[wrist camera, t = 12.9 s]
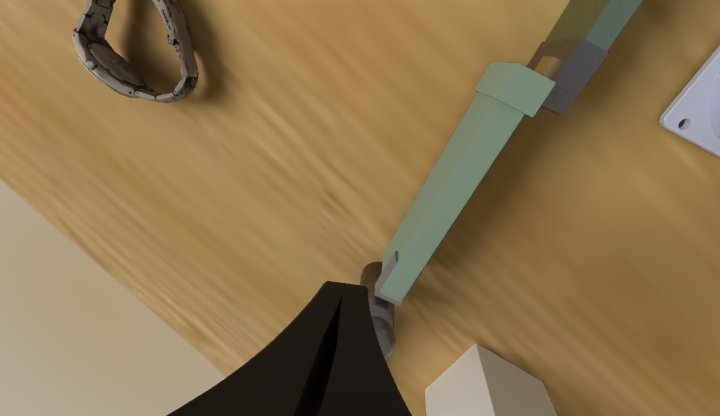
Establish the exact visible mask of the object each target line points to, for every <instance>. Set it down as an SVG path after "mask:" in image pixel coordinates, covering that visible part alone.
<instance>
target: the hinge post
mask: <svg viewBox="0 0 720 416" xmlns="http://www.w3.org/2000/svg"><path fill="white" fill-rule="evenodd" d="M381 273H382V262H373V263H370V264H368V265H367V266H366V267H365V268H364V269H363V271H362V275H361V281H360V285H361V286H366V287H367V289H368V299H369V307H370V312H371V317H372V321H373V325H374V328H375V331H376V335H377V338H378V341H379V344H380V347H381V350H382V353H383V355H384V358H385V360H386V359H388V358H389V356H390V355H391V354H392V352H393V350H394V347H395V333H394V304H393V303H391V302H389V301H387V300H384V299H382V298H380V297H378V296H375V295H374V292H375V283H376V282H377V280H378V278H379V277H380V275H381Z"/></svg>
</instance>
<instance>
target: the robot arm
mask: <svg viewBox="0 0 720 416" xmlns="http://www.w3.org/2000/svg"><path fill="white" fill-rule="evenodd" d="M683 119H684V120H685V123H684V124H683V126H681V127H680V128H679V127H678V124H679V123H680V121H682V120H683ZM659 122H660V125H661V126H662V127H663V128H665V129H666V130H668V131H670V132H672V133H674V134H676V135H678V136H680V137H681V138H683V139H685V140H687V141H689V142H691V143H693V144H695V145H696V146H698V147H700V148H702V149H704V150H706V151H708V152H710V153H711V154H713V155H715V156H717V157H719V158H720V45H719V47H718V48H717V49H716V50H715V51H714V53H713V54H712V55H711V56H710V57H709V59H708V60H707V61H706V62H705V63H704V65H703V66H702V67H701V68H700V69H699V71H698V72H697V73H696V74H695V75H694V77H693V78H692V79H691V80H690V81H689V83H688V84H687V85H686V86H685V87H684V89H683V90H682V91H681V92H680V93H679V95H678V96H677V97H676V98H675V99H674V101H673V102H672V103H671V104H670V105H669V107H668V108H667V109H666V110H665V111H664V113H663V114H662V116H661V117H660V121H659ZM167 416H412V415H411V413H410V411H409V410H408V408H407V406H406V404H405V402H404V400H403V398H402V396H401V394H400V392H399V390H398V388H397V386H396V384H395V382H394V379H393V377H392V375H391V373H390V370H389V368H388V366H387V363H386V361H385V358H384V355H383V353H382V350H381V347H380V344H379V341H378V338H377V335H376V331H375V328H374V325H373V321H372V317H371V312H370V307H369V299H368V289H367V287H366V286H361V285H353V284H346V283H339V282H331V281H327V282H325V283H324V284H323V286H322V287H321V288H320V290H319V291H318V292H317V294H316V295H315V296H314V297H313V299H312V300H311V301H310V302H309V303H308V305H307V306H306V307H305V308H304V309H303V310H302V311H301V312H300V313H299V315H298V316H297V317H296V318H295V319H294V320H293V321H292V322H291V323H290V324H289V325H288V326H287V327H286V328H285V329H284V330H283V331H282V332H281V333H280V334H279V335H278V336H277V337H276V338H275V339H274V340H273V341H272V342H270V343H269V344H268V345H267V346H266V347H265V348H264V349H263V350H261V351H260V352H259V353H258V354H257V355H255V356H254V357H253V358H252V359H250V360H249V361H248V362H247V363H245V364H244V365H243V366H242V367H240V368H239V369H237V370H236V371H235V372H233V373H232V374H231V375H229V376H228V377H227V378H225V379H224V380H222V381H221V382H220V383H218V384H217V385H215V386H214V387H212V388H211V389H209V390H208V391H206V392H205V393H203V394H201V395H200V396H198V397H196V398H195V399H193V400H192V401H190V402H188V403H187V404H185V405H184V406H182V407H180V408H179V409H177V410H175V411H174V412H172V413H170V414H168V415H167Z"/></svg>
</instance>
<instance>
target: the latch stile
mask: <svg viewBox="0 0 720 416" xmlns="http://www.w3.org/2000/svg"><path fill="white" fill-rule="evenodd" d="M642 1H643V0H571V1H570V2H569V4H568V6H567V7H566V9H565V10H564V12H563V14H562V15H561V17H560V18H559V20H558V21H557V23H556V25H555V26H554V28H553V29H552V31H551V33H550V34H549V36H548V37H547V39H546V41H545V42H542V43H541V45H540V46H539V48H538V50H537V51H536V53H535V54H534V56H533V58H532V59H531V61H530V62H529V64H528V66H527V68H529V69H531V70H533V71H535V72H537V73H539V74H540V75H542V76H544V77H546V78H548V79H550V80H552V81H554V82H556V84H555V85H554V87H553V88H552V90H551V91H550V93H549V94H548V96H547V97H546V99H545V100H544V102H543V103H542V105H541V106H540V108H543V109H545V110H548V111H551V112H554V113H557V114H560V115H563V116H564V115H565V114H566V112H567V111H568V109H569V108H570V107H571V105H572V104H573V102H574V101H575V100H576V98H577V97H578V95H579V94H580V93H581V91H582V90H583V88H584V87H585V86H586V84H587V83H588V81H589V80H590V79H591V77H592V76H593V74H594V73H595V71H596V70H597V69H598V67H599V66H600V64H601V63H602V62H603V60H604V59H605V57H606V56H607V55H608V53H609V52H607V50H608V49H609V47H610V46H611V45H612V43H613V42H614V40H615V39H616V37H617V36H618V35H619V33H620V32H621V30H622V29H623V28H624V26H625V25H626V23H627V22H628V20H629V19H630V18H631V16H632V15H633V13H634V12H635V11H636V9H637V8H638V6H639V5H640V3H641V2H642Z"/></svg>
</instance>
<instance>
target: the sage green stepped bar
mask: <svg viewBox="0 0 720 416" xmlns="http://www.w3.org/2000/svg"><path fill="white" fill-rule="evenodd" d="M555 84H556V82H554V81H552V80H550V79H548V78H546V77H544V76H542V75H540V74H539V73H537V72H535V71H533V70H531V69H529V68H527V67H525V66H523V65H522V64H520V63H502V62H490V64H489V65H488V67H487V69H486V71H485V72H484V74H483V76H482V77H481V79H480V81H479V83H478V84H477V86H476V88H475V90H476V91H478V92H477V94H476V96H475V97H474V99H473V101H472V103H471V104H470V106H469V108H468V109H467V111H466V113H465V114H464V116H463V118H462V120H461V121H460V123H459V125H458V126H457V128H456V130H455V132H454V133H453V135H452V137H451V138H450V140H449V142H448V144H447V145H446V147H445V149H444V150H443V152H442V154H441V156H440V157H439V159H438V161H437V162H436V164H435V166H434V167H433V169H432V171H431V173H430V174H429V176H428V178H427V179H426V181H425V183H424V185H423V186H422V188H421V190H420V191H419V193H418V195H417V197H416V198H415V200H414V202H413V203H412V205H411V207H410V209H409V210H408V212H407V214H406V215H405V217H404V219H403V220H402V222H401V224H400V226H399V227H398V229H397V231H396V232H395V234H394V236H393V238H392V239H391V241H390V243H389V244H388V246H387V248H386V250H385V251H384V253H383V263H382V273H381V275H380V277H379V278H378V280H377V282H376V283H375V292H374V295H375V296H378V297H380V298H382V299H384V300H387V301H389V302H391V303H393V304H395V305H398V306H400V305H401V304H402V302H403V301H404V299H405V297H406V296H407V294H408V293H409V291H410V290H411V288H412V287H413V285H414V284H415V282H416V281H417V279H418V278H419V276H420V275H421V273H422V269H423V268H424V266H425V265H426V263H427V262H428V260H429V259H430V257H431V256H432V254H433V252H434V251H435V249H436V248H437V246H438V245H439V243H440V242H441V240H442V239H443V237H444V236H445V234H446V233H447V231H448V230H449V228H450V227H451V225H452V224H453V222H454V221H455V219H456V218H457V216H458V215H459V213H460V212H461V210H462V209H463V207H464V205H465V204H466V202H467V201H468V199H469V198H470V196H471V195H472V193H473V192H474V190H475V189H476V187H477V186H478V184H479V183H480V181H481V180H482V178H483V177H484V175H485V174H486V172H487V171H488V169H489V168H490V166H491V165H492V163H493V162H494V160H495V159H496V157H497V155H498V154H499V152H500V151H501V149H502V148H503V146H504V145H505V143H506V142H507V140H508V139H509V137H510V136H511V134H512V133H513V131H514V130H515V128H516V127H517V125H518V124H519V122H520V121H521V119H522V118H523V116H524V115H525V114H526V115H528V116H530V117H534V115H535V114H536V112H537V111H538V109H539V108H540V106H541V105H542V103H543V102H544V100H545V99H546V97H547V96H548V94H549V93H550V91H551V90H552V88H553V87H554V85H555Z"/></svg>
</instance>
